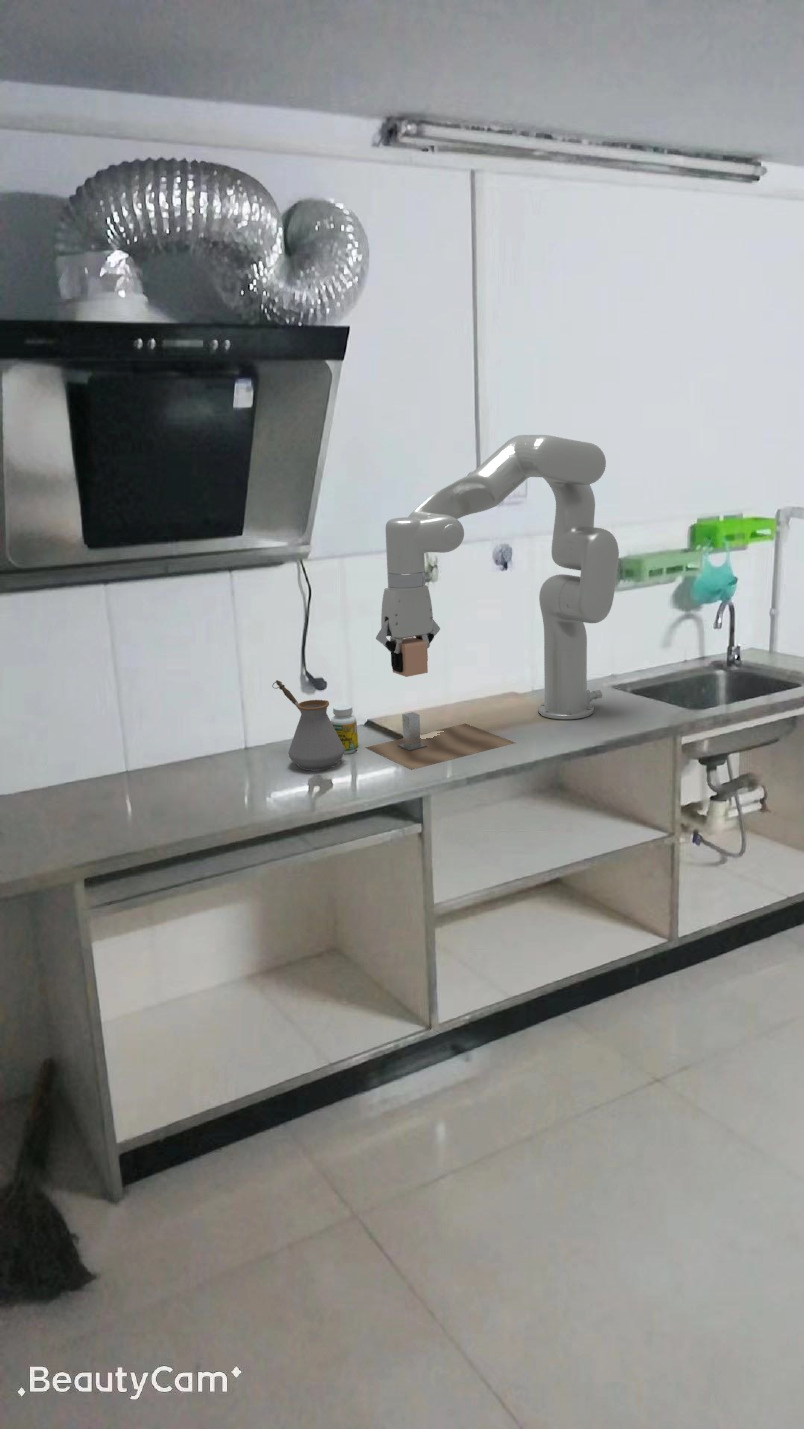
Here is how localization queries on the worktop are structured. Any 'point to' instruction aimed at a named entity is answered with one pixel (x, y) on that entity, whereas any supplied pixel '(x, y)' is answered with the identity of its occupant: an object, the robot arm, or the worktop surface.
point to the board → (441, 746)
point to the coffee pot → (313, 735)
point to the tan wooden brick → (413, 657)
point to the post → (411, 732)
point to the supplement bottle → (345, 727)
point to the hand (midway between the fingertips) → (409, 667)
